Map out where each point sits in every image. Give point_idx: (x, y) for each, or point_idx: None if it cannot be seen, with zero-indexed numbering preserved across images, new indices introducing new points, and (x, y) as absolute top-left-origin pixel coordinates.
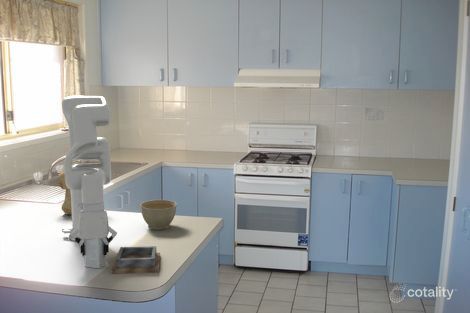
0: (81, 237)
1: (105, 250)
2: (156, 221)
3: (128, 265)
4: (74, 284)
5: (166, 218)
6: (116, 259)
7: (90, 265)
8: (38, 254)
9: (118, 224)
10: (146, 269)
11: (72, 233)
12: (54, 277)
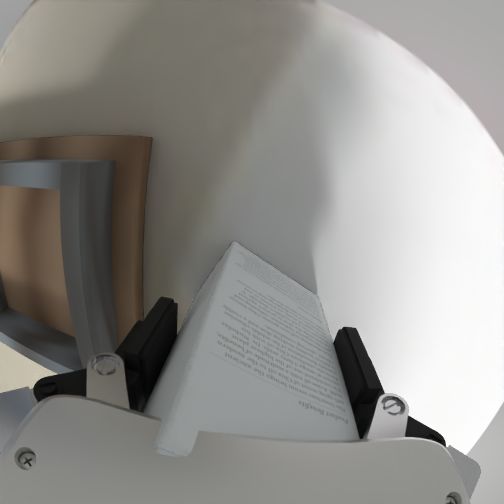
0: (431, 450)
1: (148, 318)
2: None
3: (49, 159)
4: (378, 36)
5: None
6: (78, 172)
7: (289, 280)
8: (443, 424)
9: None
10: (7, 141)
11: (474, 482)
12: (472, 179)
